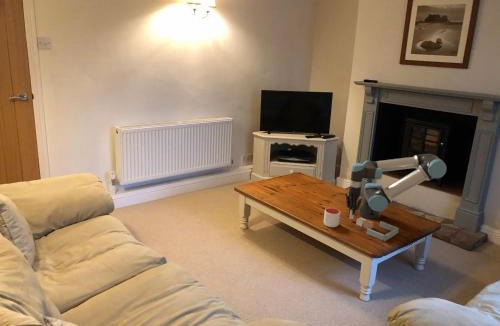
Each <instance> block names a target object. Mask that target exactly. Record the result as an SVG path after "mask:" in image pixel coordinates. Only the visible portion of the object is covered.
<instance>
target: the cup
mask: <svg viewBox="0 0 500 326" xmlns="http://www.w3.org/2000/svg"><path fill="white" fill-rule="evenodd" d="M340 217H341V211H340V210H339V209H338V208H335V207H328V208H325V210H324V216H323V224H324V225H325V226H326V227H329V228H337V227H338V226H339V224H340Z"/></svg>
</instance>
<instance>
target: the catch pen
mask: <svg viewBox="0 0 500 326" xmlns="http://www.w3.org/2000/svg"><path fill="white" fill-rule="evenodd" d="M379 227H380V228H382V229H385V230H388V231H389V232H387V233H386V234H384V233H381V232H378V231H376V230H374V229H366V231H365V232H366V235H368V236H371V237H373V238H376V239H378V240H380V241H382V242H387V241H388V240H389V239H391V238H392V237H395V236H396V235H397V234H399V230H400V227H398V226H394V225H392V224H389V223H387V222H384V221H379Z"/></svg>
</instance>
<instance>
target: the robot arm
mask: <svg viewBox="0 0 500 326" xmlns="http://www.w3.org/2000/svg"><path fill="white" fill-rule="evenodd" d="M407 169H415V170H414V171H412V172H410V173H409V174H407V175H405V176H404V177H401V178H400V179H398V180H396V181H395V182H393V183H392V184H389V185H388V186H386V187H383V185H381V184H380V183H374V182H368V183H366V184H364V191H363V197H362V196H361V192H362V184H363V179H364V180H365V179H366V180H382V178H383V172H390V171H391V172H392V171H399V170H407ZM446 173H447V165H446V163H445V162H444V161H443V160H442V159H440V158H439V157H438V156H437V155H435V154H433V153H422V154H415V155H414V156H412V157H411V156H409V157H402V158H394V159H386V160H384V159H383V160H378V161H377V160H376V161H371V160H365V161H363V163H361V162H360V163H359V162H355V163H354V162H353V164H352V166H351V175H350V181H349V183H350V184H349V189H348V190H349V191H348V192H345V194H344V195H345V197H346V199H345V201H346V207H347V208H348V209H349V210H348V214H349V217H348V218H349V220H353V219H354V216H355V214H356V211H358V214H359V216H361V217H362V218H364V219H371V220H372V219H373V220H375V219H380V218H381V215H382V213H381V212H383V211H385V210H386V209H387V207H388V205H390V204H391V203H392V202H393V200H394V199H395V198H397V197H399V196H400V195H402V194H404V193H405V192H407V191H409V190H411V189H412V188H414V187H416V186H418V185H419V184H421V183H423V182H424V181H431V180H433V179H441V178H442V177H444V175H445V174H446Z"/></svg>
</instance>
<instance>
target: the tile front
mask: <svg viewBox="0 0 500 326" xmlns="http://www.w3.org/2000/svg"><path fill="white" fill-rule="evenodd" d="M362 228H364V229H366V230H367V229H371V230H373V229H374V222H373V221H371V220H368V219H366V221H365V222H364V226H363V227H362Z"/></svg>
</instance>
